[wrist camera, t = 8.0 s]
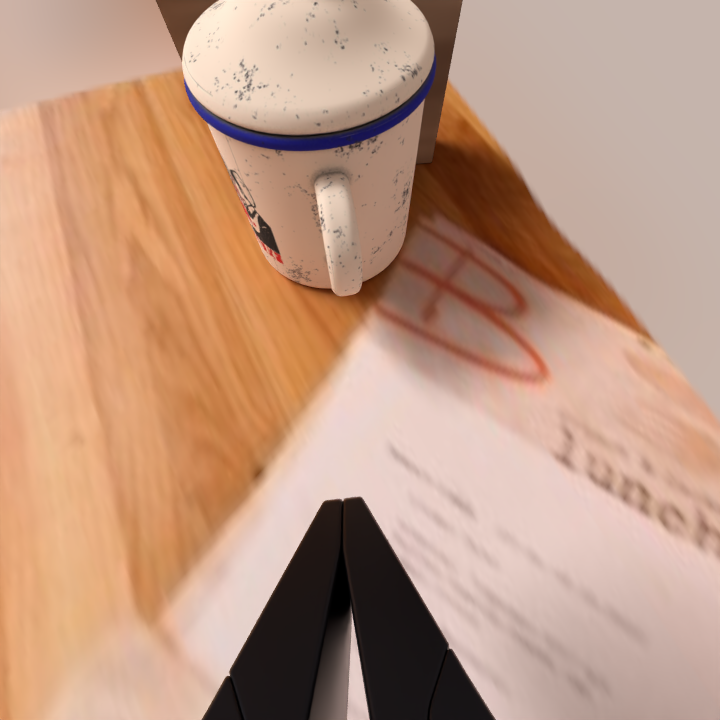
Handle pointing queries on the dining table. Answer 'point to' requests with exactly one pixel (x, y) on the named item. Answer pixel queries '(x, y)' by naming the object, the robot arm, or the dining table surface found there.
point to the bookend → (437, 3)
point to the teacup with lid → (316, 125)
